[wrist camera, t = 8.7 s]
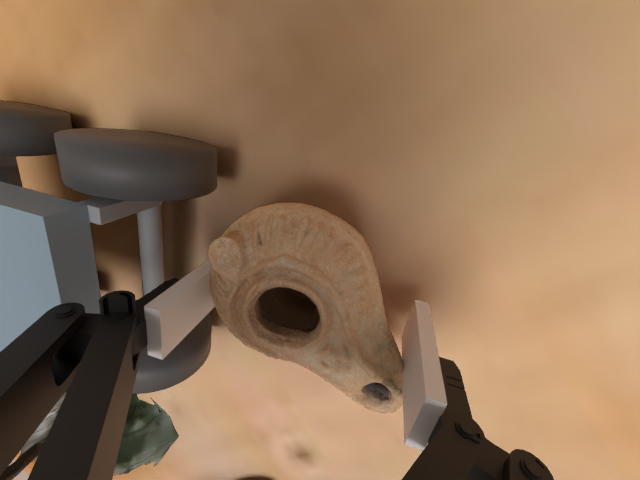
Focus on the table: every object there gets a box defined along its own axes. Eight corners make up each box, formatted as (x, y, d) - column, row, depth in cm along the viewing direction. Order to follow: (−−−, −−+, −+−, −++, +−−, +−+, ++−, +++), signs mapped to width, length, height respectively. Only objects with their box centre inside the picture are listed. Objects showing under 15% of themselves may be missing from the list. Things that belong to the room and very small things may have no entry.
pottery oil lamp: (349, 394, 20) (264, 478, 15) (274, 235, 21) (175, 262, 16) (475, 388, 14) (404, 526, 9) (358, 167, 15) (241, 177, 10)
